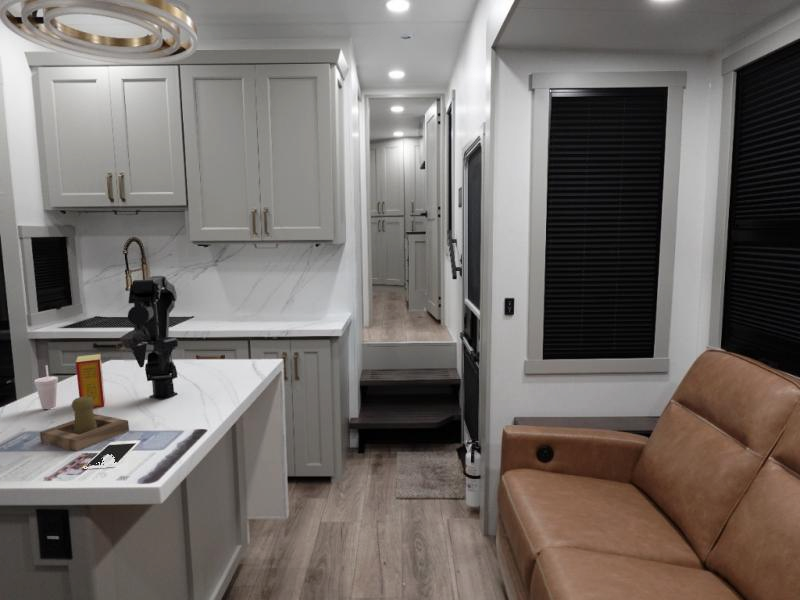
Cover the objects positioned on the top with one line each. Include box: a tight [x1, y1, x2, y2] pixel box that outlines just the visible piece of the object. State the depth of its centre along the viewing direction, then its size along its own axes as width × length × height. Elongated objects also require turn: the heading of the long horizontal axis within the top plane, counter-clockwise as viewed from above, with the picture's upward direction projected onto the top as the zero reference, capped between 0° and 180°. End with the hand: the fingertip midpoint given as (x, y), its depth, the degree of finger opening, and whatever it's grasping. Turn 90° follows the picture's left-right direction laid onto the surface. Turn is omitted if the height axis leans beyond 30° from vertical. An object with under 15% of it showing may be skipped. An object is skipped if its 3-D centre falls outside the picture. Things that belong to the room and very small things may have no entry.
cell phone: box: [82, 439, 141, 469], centre depth 130 cm, size 8×16×1 cm, turn 7°
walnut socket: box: [39, 413, 130, 452], centre depth 142 cm, size 15×15×3 cm
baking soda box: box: [75, 353, 106, 409], centre depth 168 cm, size 10×6×16 cm
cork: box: [71, 396, 97, 435], centre depth 141 cm, size 6×6×11 cm
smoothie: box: [33, 364, 59, 410], centre depth 166 cm, size 6×6×14 cm
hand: (151, 368), depth 162 cm, fingers open, 9 cm apart
